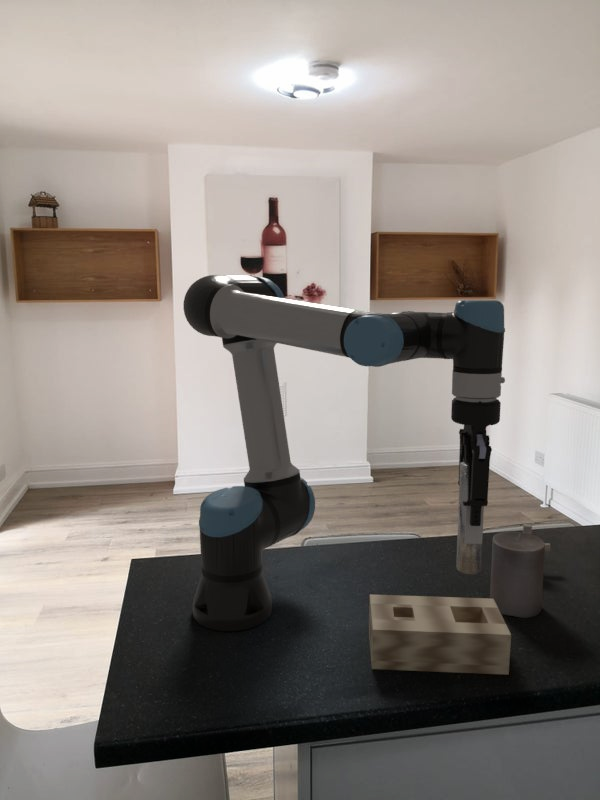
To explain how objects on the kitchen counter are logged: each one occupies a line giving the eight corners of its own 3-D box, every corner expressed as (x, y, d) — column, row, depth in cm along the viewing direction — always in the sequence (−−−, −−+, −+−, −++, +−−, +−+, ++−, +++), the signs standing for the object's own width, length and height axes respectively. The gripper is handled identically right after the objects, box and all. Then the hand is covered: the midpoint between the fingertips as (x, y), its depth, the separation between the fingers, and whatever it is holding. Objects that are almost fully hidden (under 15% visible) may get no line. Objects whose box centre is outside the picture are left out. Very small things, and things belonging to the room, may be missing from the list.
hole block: (371, 668, 103) (372, 629, 102) (368, 630, 115) (369, 594, 114) (508, 674, 102) (511, 634, 100) (491, 634, 113) (493, 598, 112)
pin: (458, 573, 103) (462, 467, 100) (454, 563, 107) (458, 461, 104) (483, 574, 103) (488, 468, 100) (478, 564, 107) (482, 461, 104)
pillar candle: (518, 591, 130) (521, 522, 127) (552, 613, 121) (557, 539, 118) (479, 599, 127) (481, 529, 124) (511, 623, 118) (515, 547, 115)
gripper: (514, 407, 91) (506, 559, 95) (488, 390, 108) (482, 519, 112) (461, 407, 92) (455, 557, 96) (444, 389, 109) (439, 518, 113)
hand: (470, 537), depth 104 cm, fingers closed on pin, 4 cm apart
